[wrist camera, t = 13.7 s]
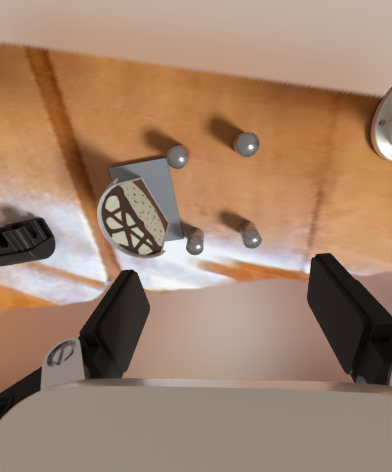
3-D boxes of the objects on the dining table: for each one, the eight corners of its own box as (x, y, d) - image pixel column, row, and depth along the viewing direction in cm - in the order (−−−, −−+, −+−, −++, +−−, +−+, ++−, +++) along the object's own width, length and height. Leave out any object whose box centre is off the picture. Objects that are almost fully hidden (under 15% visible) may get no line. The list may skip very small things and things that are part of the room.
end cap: (23, 254, 43) (-6, 273, 37) (3, 225, 40) (-33, 241, 34) (63, 247, 42) (39, 265, 36) (45, 216, 39) (15, 231, 33)
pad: (166, 157, 33) (165, 158, 32) (183, 236, 39) (183, 239, 38) (110, 167, 34) (107, 168, 33) (136, 242, 40) (135, 245, 39)
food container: (108, 185, 34) (73, 202, 25) (136, 169, 33) (110, 181, 24) (146, 241, 39) (128, 272, 30) (173, 229, 37) (162, 258, 29)
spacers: (251, 131, 30) (259, 130, 26) (255, 234, 38) (261, 247, 34) (170, 146, 32) (164, 148, 27) (190, 242, 40) (187, 255, 35)
